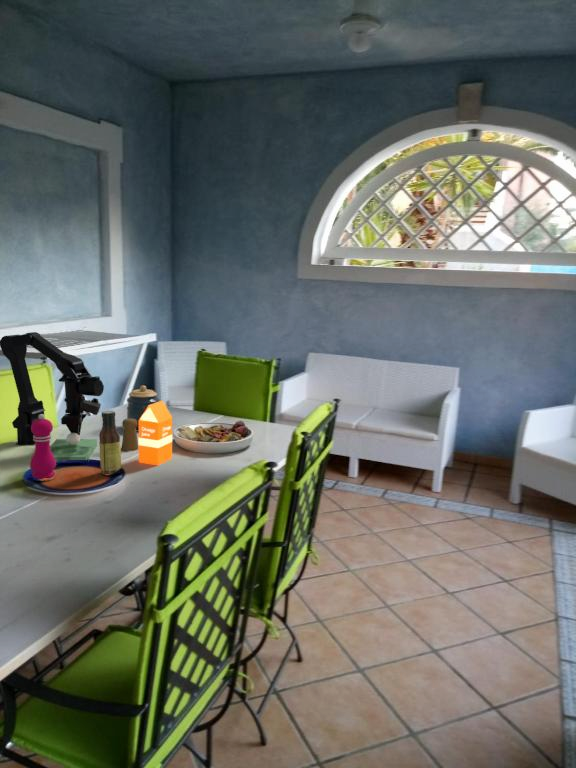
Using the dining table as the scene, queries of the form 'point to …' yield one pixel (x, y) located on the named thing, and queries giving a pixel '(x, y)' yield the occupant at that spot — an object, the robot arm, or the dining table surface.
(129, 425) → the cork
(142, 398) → the canister
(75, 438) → the ball
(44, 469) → the pepper mill
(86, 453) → the green flat block
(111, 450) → the sauce bottle
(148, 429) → the orange juice
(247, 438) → the bowl
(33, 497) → the dining table surface
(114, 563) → the dining table surface
